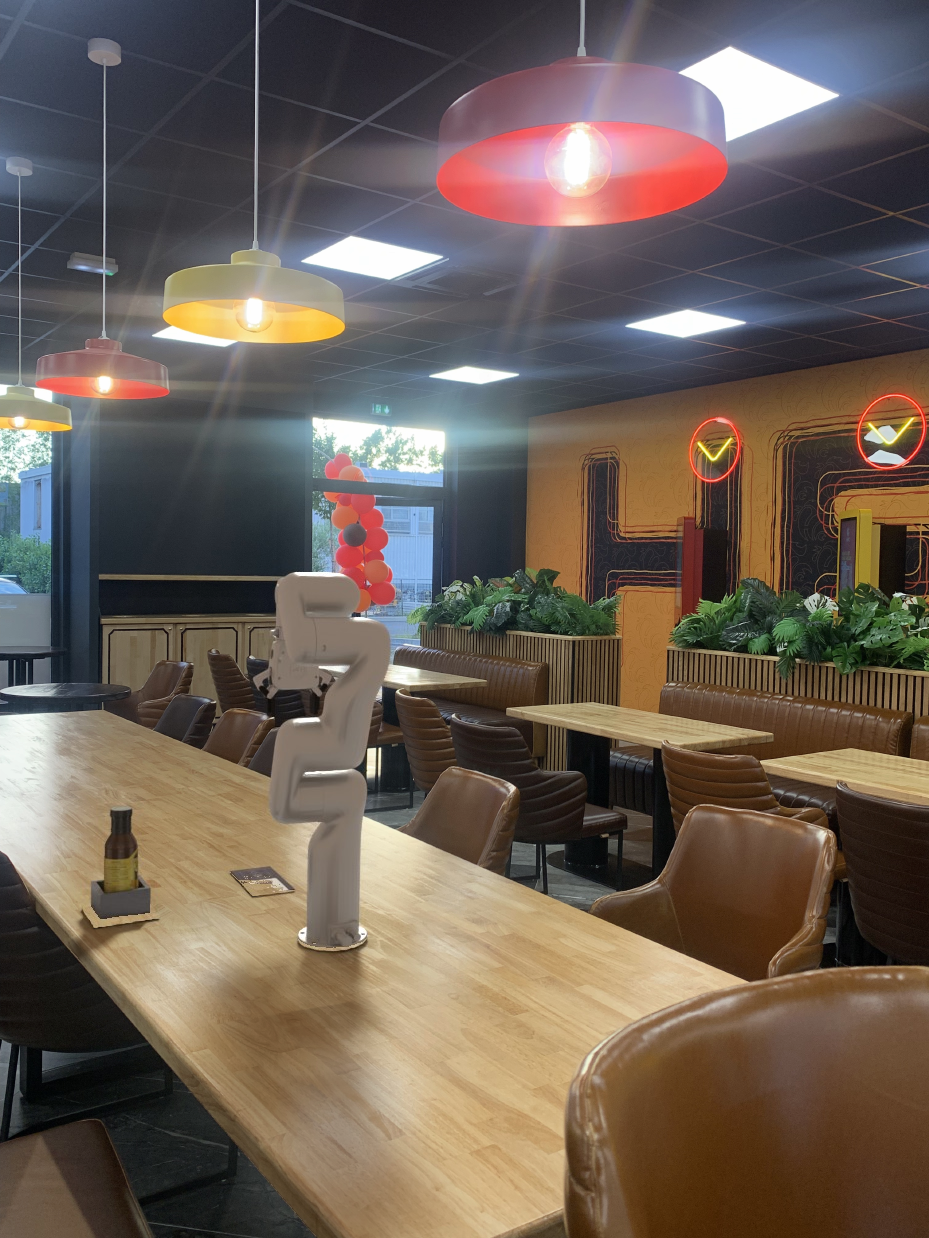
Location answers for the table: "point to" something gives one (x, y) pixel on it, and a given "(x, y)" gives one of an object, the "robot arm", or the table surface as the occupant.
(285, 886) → the chocolate bar
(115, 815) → the sauce bottle
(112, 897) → the condiment holder
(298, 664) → the robot arm
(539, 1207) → the table surface
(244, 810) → the table surface
